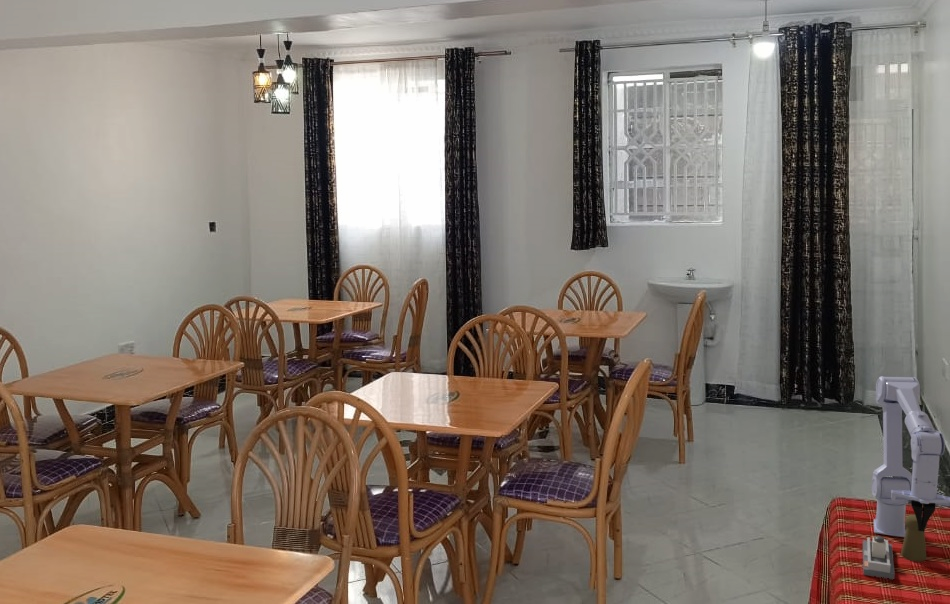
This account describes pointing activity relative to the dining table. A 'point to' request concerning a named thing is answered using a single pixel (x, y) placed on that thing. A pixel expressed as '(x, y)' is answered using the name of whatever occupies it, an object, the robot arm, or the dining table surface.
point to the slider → (878, 547)
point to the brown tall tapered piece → (913, 541)
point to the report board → (877, 561)
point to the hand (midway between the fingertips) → (921, 529)
